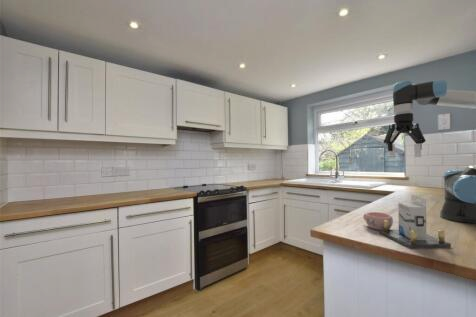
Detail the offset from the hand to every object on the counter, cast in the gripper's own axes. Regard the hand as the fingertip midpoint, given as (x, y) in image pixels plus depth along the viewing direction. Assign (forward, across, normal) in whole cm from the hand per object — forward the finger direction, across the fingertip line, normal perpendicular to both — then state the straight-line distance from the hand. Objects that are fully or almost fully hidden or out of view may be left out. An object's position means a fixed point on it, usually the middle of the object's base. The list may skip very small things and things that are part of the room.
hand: (405, 157), depth 107 cm
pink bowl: (+30, +24, +9) cm, 39 cm away
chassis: (+30, +21, +24) cm, 44 cm away
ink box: (+29, +21, +24) cm, 43 cm away
